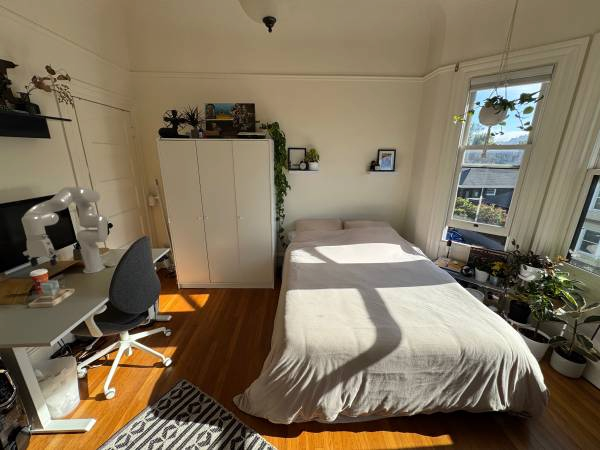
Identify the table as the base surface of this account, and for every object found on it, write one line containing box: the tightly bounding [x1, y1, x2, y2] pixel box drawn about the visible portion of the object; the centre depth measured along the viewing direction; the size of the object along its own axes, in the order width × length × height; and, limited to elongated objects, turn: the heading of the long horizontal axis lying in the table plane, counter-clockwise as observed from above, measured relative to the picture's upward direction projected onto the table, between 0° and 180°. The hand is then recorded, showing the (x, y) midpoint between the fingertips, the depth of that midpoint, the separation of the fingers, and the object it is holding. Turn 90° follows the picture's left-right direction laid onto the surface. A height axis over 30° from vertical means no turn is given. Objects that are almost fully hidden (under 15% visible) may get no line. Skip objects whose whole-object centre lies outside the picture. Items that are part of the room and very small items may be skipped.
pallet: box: [38, 280, 66, 300], centre depth 142 cm, size 9×7×8 cm
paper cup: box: [29, 268, 50, 295], centre depth 150 cm, size 8×8×14 cm
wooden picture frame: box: [28, 288, 76, 309], centre depth 143 cm, size 16×12×2 cm
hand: (44, 265), depth 138 cm, fingers open, 9 cm apart
